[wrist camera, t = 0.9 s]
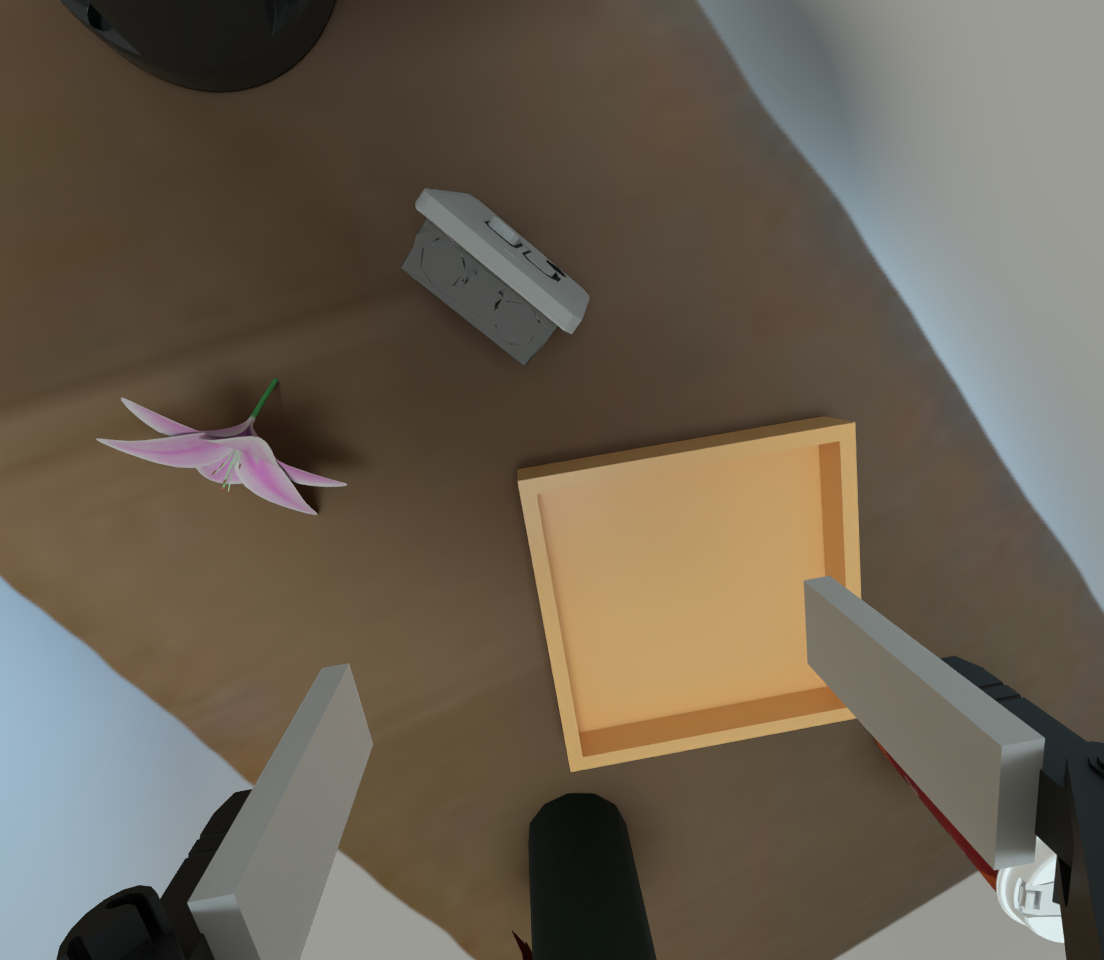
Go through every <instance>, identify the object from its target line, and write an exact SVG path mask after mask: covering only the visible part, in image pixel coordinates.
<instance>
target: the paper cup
mask: <svg viewBox="0 0 1104 960" xmlns="http://www.w3.org/2000/svg"><path fill="white" fill-rule="evenodd" d="M874 740H875V742H876V743H877V745H878V746H879V748H880V749H881V751H882V752H883V753H884V754H885V756H886V757H887V758H888V760H889V761H890V762H891V763H892V765H893V766H894V767H895V768H896V770H897V771H898V772H899V773H900V775H901V776H902V777H903V778H904V780H905V781H906V782H907V783H908V785H909V786H910V787H911V788H912V790H913V791H914V792H915V793H916V794H917V796H918V797H919V798H920V799H921V801H922V802H923V803H924V804H925V806H926V807H927V808H928V809H929V810H930V812H931V813H932V814H933V815H934V817H935V818H936V819H937V820H938V822H939V823H940V824H941V825H942V826H943V828H944V829H945V830H946V831H947V833H948V834H949V835H950V836H951V837H952V839H953V840H954V841H955V842H956V844H957V845H958V846H959V847H960V848H961V850H962V851H963V852H964V853H965V855H966V856H967V857H968V858H969V859H970V861H971V862H972V863H973V864H974V866H975V867H976V868H977V869H978V870H979V872H980V873H981V874H982V875H983V877H984V878H985V879H986V880H987V882H988V883H989V884H990V885H991V886H992V888H993V889H994V890H995V891H996V893H997V898H998V900H999V903H1000V905H1001V906H1002V908H1003V909H1004V911H1005V912H1006V913H1007V914H1008V915H1009V916H1010V917H1011V918H1013V919H1014V920H1016V921H1018V922H1020V923H1021V924H1023V925H1026V926H1028V927H1029V928H1030V929H1031V930H1033V932H1035V933H1036V934H1038V935H1040V936H1041V937H1044V938H1046V939H1048V940H1051V941H1055V942H1061V943H1064V935H1063V927H1062V919H1061V911H1060V905H1059V904H1056V903H1053V902H1052V898H1053V888H1054V878H1055V868H1056V858H1057V855H1056V854H1055V853H1054V852H1053V851H1052V850H1051V849H1050V848H1049V847H1048V846H1047V845H1046V844H1045V843H1044V842H1043V841H1042V840H1041V839H1039V838H1038V837H1036V848H1035V860H1034V863H1029V864H1024V865H1019V866H1014V867H1009V868H1004V869H999V870H993V869H992V867H991V866H990V865H989V864H988V863H987V862H986V861H985V860H984V859H983V857H982V856H981V855H980V854H979V853H978V852H977V851H976V850H975V849H974V848H973V846H972V845H971V844H970V843H969V842H968V841H967V840H966V839H965V838H964V836H963V835H962V834H961V833H960V832H959V831H958V830H957V829H956V828H955V826H954V825H953V824H952V823H951V822H950V821H949V820H948V819H947V818H946V816H945V815H944V814H943V813H942V812H941V811H940V810H939V809H938V808H937V806H936V805H935V804H934V803H933V802H932V801H931V800H930V799H929V798H928V797H927V795H926V794H925V793H924V792H923V791H922V790H921V789H920V788H919V787H918V785H917V784H916V783H915V782H914V781H913V780H912V779H911V778H910V777H909V775H908V774H907V773H906V772H905V771H904V770H903V769H902V768H901V767H900V765H899V764H898V763H897V762H896V761H895V760H894V759H893V758H892V757H891V756H890V754H889V753H888V752H887V751H886V750H885V749H884V748H883V747H882V746H881V744H880V743H879V742H878V741H877V740H876V739H875V738H874Z"/></svg>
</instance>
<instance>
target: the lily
mask: <svg viewBox="0 0 1104 960" xmlns="http://www.w3.org/2000/svg"><path fill="white" fill-rule="evenodd" d="M277 383H278V379H277V378H274V379H273V381H272V382H271V384H270V385H269V387H268V388H267V390H266V392H265V393H264V395H263V396H262V398H261V399H260V401H259V403H258V404H257V406H256V408H255V409H254V411H253V412H252V414H251V416H250V417H249V418H248V420H247V421H245V422H244V423H242V424H240V425H237V426H233V427H230V428H225V429H220V430H210V431H198V430H194V429H192V428H189V427H187V426H184V425H182V424H180V423H177V422H175V421H173V420H171V419H168V418H166V417H164V416H161V415H159V414H157V413H155V412H153V411H151V410H149V409H146V408H144V407H142V406H140V405H138V404H136V403H134V402H132V401H130V400H127V399H125V398H122V397H121V401H122V402H123V403H124V404H125V406H126V407H127V408H128V409H129V410H130V411H131V412H132V413H134V414H135V415H136V416H137V417H138V418H139V419H141V420H142V421H143V422H144V423H146V424H147V425H148V426H150V427H152V428H153V429H155V430H156V431H158V432H160V433H163V434H165V435H168V436H172V437H167V438H160V439H152V440H144V441H120V440H109V439H97V440H98V441H100V442H101V443H103V444H105V445H108V446H110V447H113V448H115V449H117V450H120V451H123V452H125V453H128V454H131V455H134V456H136V457H139V458H143V459H146V460H149V461H152V462H155V463H159V464H164V465H169V466H173V467H184V468H195V467H196V469H197V470H198V471H199V473H200V474H202V475H203V476H204V477H205V478H207V479H209V480H212V481H215V482H218V483H223V484H222V485H223V486H222V487H221V489H222V490H224V489H225V485H226V484H229V488H228V494H230V484H241V483H243V484H244V485H245V486H246V487H247V488H248V489H250V490H251V491H252V492H253V493H255V494H256V495H258V496H260V497H262V498H264V499H266V500H268V501H270V502H273V503H276V504H278V505H281V506H284V507H287V508H290V509H293V510H296V511H300V512H304V513H308V514H315V515H318V514H317V513H316V512H315V511H314V510H313V509H312V508H311V507H310V506H309V505H308V504H307V503H306V502H305V501H304V500H303V498H302V497H301V496H300V494H299V493H298V491H297V490H296V488H295V487H294V485H293V484H292V483H291V481H293V482H296V483H299V484H303V485H310V486H321V487H340V486H346V485H348V484H345V483H343V482H339V481H335V480H332V479H328V478H325V477H322V476H318V475H315V474H312V473H309V472H306V471H303V470H300V469H297V468H294V467H291V466H289V465H286V464H285V463H283V462H281V461H279V460H278V459H277V458H276V457H275V456H274V455H273V453H272V450H271V448H270V447H269V445H268V444H267V442H265V441H264V440H263V439H261V438H259V437H258V435H257V434H256V432H255V430H254V428H253V423H254V421H255V419H256V417H257V415H258V414H259V412H260V410H261V408H262V407H263V405H264V403H265V402H266V400H267V398H268V397H269V395H270V394H271V392H272V391H273V389H274V387H275V386H276V384H277ZM290 480H291V481H290Z"/></svg>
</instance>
